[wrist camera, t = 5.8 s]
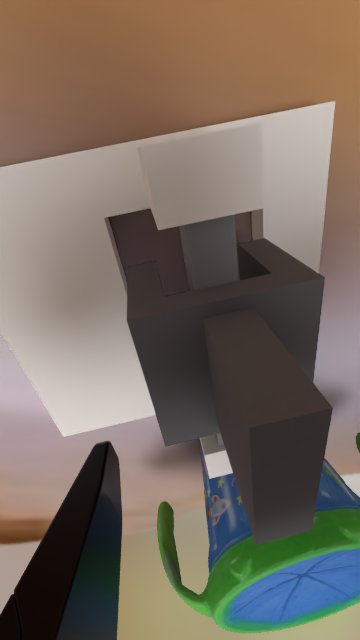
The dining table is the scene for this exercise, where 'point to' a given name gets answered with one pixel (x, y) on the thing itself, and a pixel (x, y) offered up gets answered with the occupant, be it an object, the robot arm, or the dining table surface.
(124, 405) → the white square base
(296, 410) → the bracket
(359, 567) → the snack cup
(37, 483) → the dining table surface
